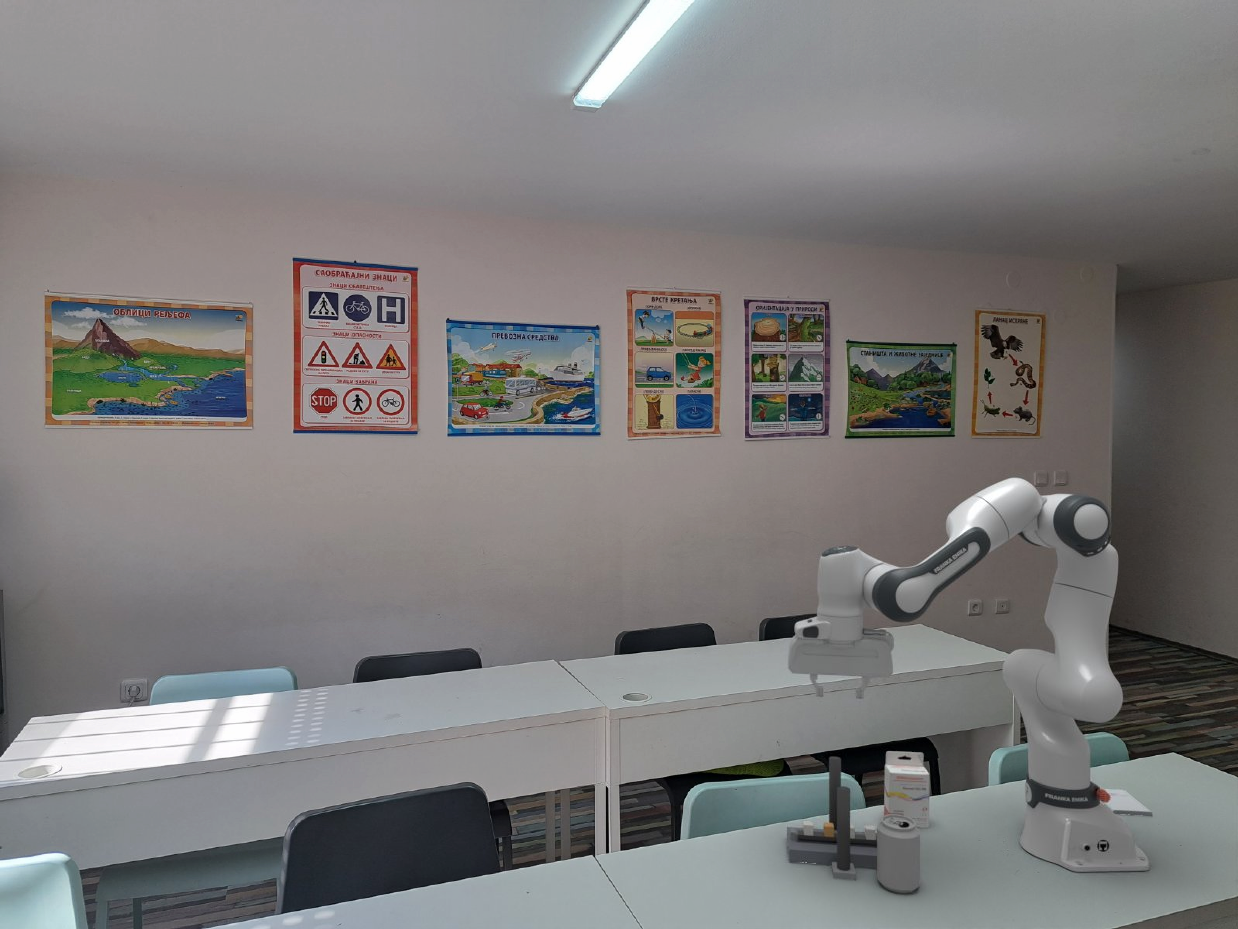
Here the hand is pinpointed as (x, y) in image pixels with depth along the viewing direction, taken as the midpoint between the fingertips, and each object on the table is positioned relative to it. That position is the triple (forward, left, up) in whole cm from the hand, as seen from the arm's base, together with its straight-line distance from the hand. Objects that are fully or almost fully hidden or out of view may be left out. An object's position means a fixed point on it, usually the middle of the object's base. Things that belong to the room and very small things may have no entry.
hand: (839, 697), depth 163 cm
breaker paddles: (0, 0, -28) cm, 28 cm away
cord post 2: (0, +8, -31) cm, 32 cm away
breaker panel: (0, 0, -31) cm, 31 cm away
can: (-10, +10, -32) cm, 35 cm away
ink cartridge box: (-16, -17, -32) cm, 39 cm away
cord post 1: (0, -8, -31) cm, 32 cm away
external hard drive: (-66, -35, -32) cm, 81 cm away
